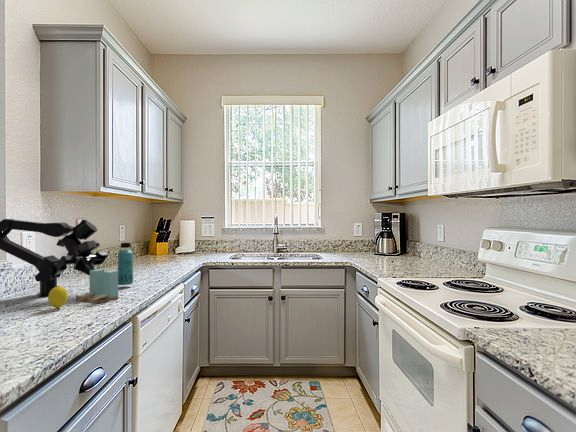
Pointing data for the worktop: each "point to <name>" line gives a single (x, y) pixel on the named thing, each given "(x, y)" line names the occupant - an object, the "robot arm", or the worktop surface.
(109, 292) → the fixed leg
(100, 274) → the block
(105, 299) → the board
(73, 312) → the worktop surface
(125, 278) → the beverage bottle
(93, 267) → the robot arm
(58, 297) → the lemon
